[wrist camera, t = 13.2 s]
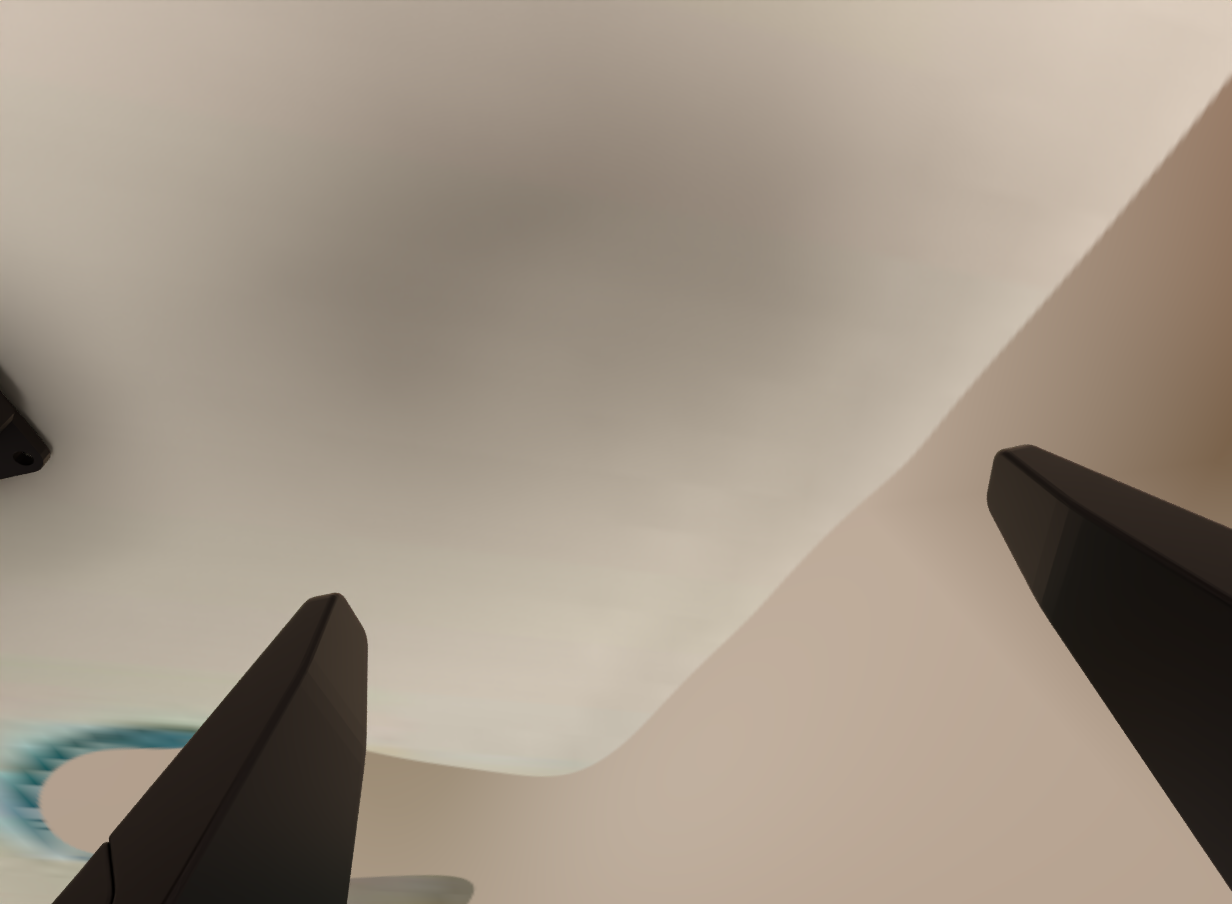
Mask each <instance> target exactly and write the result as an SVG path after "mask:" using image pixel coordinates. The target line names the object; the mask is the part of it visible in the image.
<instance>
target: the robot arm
mask: <svg viewBox="0 0 1232 904" xmlns="http://www.w3.org/2000/svg"><path fill="white" fill-rule="evenodd" d="M22 452H25V453H28V454H29V455H31V456H32V457H30V456H27V455H25V454H24V453H22ZM49 458H50V450H49V449H48V447H47V446H46V444H45V443H44V442H43V441H42V440H41V439H40V437H39V436H38V435H37V434H36V433H35V431H34V430H33V429H32V428H31V427H30V425H29V424H28V423H27V422H26V421H25V419H24V418H23V417H22V416H21V415H20V414H19V412H18V411H17V410H16V409H15V408H14V406H13V405H12V404H11V403H10V402H9V400H8V399H7V398H6V397H5V396H4V395H3V393H2V392H1V391H0V479H4V478H8V477H13V476H18V475H22V474H27V473H31V472H36V471H38V470H40V469H41V468H42V467H43V466H44V465H45V463H46V462H47V461H48V460H49ZM987 504H988V508H989V511H990V513H991V515H992V517H993V519H994V521H995V523H996V524H997V527H998V528H999V530H1000V532H1001V534H1002V536H1003V538H1004V540H1005V542H1006V544H1007V546H1008V548H1009V549H1010V551H1011V553H1012V555H1013V557H1014V559H1015V561H1016V563H1017V565H1018V567H1019V569H1020V571H1021V573H1022V574H1023V576H1024V578H1025V580H1026V582H1027V584H1028V586H1029V588H1030V590H1031V592H1032V593H1033V595H1034V597H1035V599H1036V601H1037V602H1038V604H1039V606H1040V607H1041V609H1042V611H1043V612H1044V614H1045V615H1046V617H1047V618H1048V620H1049V622H1050V623H1051V625H1052V626H1053V628H1054V629H1055V630H1056V632H1057V633H1058V635H1059V636H1060V638H1061V639H1062V641H1063V642H1064V644H1065V645H1066V647H1067V648H1068V650H1069V651H1070V653H1071V654H1072V656H1073V657H1074V659H1075V660H1076V662H1077V663H1078V664H1079V666H1080V667H1081V669H1082V670H1083V672H1084V673H1085V675H1086V676H1087V678H1088V679H1089V681H1090V682H1091V684H1092V685H1093V687H1094V688H1095V690H1096V691H1097V692H1098V694H1099V696H1100V697H1101V699H1102V700H1103V702H1104V703H1105V704H1106V706H1107V707H1108V709H1109V710H1110V712H1111V713H1112V715H1113V716H1114V718H1115V719H1116V721H1117V722H1118V724H1119V725H1120V727H1121V728H1122V730H1123V731H1124V733H1125V734H1126V735H1127V737H1128V738H1129V740H1130V741H1131V743H1132V744H1133V746H1134V747H1135V749H1136V750H1137V752H1138V753H1139V755H1140V756H1141V758H1142V759H1143V761H1144V762H1145V764H1146V765H1147V767H1148V768H1149V770H1150V771H1151V773H1152V774H1153V776H1154V777H1155V778H1156V780H1157V781H1158V783H1159V784H1160V786H1161V787H1162V789H1163V790H1164V792H1165V793H1166V795H1167V796H1168V798H1169V799H1170V801H1171V802H1172V804H1173V805H1174V807H1175V808H1176V810H1177V811H1178V812H1179V814H1180V815H1181V817H1182V818H1183V820H1184V821H1185V823H1186V824H1187V826H1188V827H1189V829H1190V830H1191V832H1192V833H1193V835H1194V836H1195V838H1196V839H1197V841H1198V842H1199V844H1200V845H1201V847H1202V848H1203V850H1204V851H1205V852H1206V854H1207V855H1208V857H1209V858H1210V860H1211V861H1212V863H1213V864H1214V866H1215V867H1216V869H1217V870H1218V872H1219V873H1220V875H1221V876H1222V877H1223V879H1224V881H1225V882H1226V884H1227V885H1228V886H1229V888H1230V889H1231V891H1232V529H1231V528H1229V527H1227V526H1224V525H1221V524H1219V523H1217V522H1215V521H1212V520H1210V519H1208V518H1205V517H1203V516H1200V515H1198V514H1196V513H1193V512H1191V511H1189V510H1186V509H1184V508H1181V507H1179V506H1176V505H1174V504H1172V503H1169V502H1167V501H1165V500H1162V499H1160V498H1158V497H1155V496H1153V495H1150V494H1148V493H1146V492H1143V491H1141V490H1139V489H1136V488H1134V487H1131V486H1129V485H1127V484H1124V483H1122V482H1120V481H1117V480H1115V479H1112V478H1110V477H1107V476H1105V475H1103V474H1101V473H1098V472H1096V471H1093V470H1091V469H1088V468H1086V467H1084V466H1081V465H1079V464H1077V463H1074V462H1072V461H1070V460H1067V459H1065V458H1062V457H1060V456H1057V455H1055V454H1053V453H1051V452H1048V451H1046V450H1043V449H1041V448H1039V447H1036V446H1033V445H1020V446H1015V447H1011V448H1006V449H1002V450H1000V451H998V452H997V454H996V455H995V457H994V460H993V466H992V470H991V475H990V481H989V486H988V491H987ZM367 670H368V643H367V637H366V633H365V630H364V628H363V626H362V625H361V623H360V621H359V620H358V618H357V617H356V615H355V613H354V612H353V610H352V609H351V607H350V605H349V604H348V602H347V600H346V599H345V598H344V596H343V595H341V594H340V593H330V594H326V595H321V596H316V597H312V598H310V599H308V600H307V601H306V602H305V603H304V604H303V605H302V606H301V607H300V609H299V610H298V611H297V612H296V613H295V615H294V616H293V617H292V618H291V619H290V621H289V622H288V623H287V624H286V625H285V627H284V628H283V629H282V630H281V631H280V633H279V634H278V635H277V636H276V637H275V639H274V640H273V641H272V642H271V643H270V645H269V646H268V647H267V648H266V649H265V651H264V652H263V653H262V654H261V655H260V657H259V658H258V659H257V660H256V661H255V663H254V664H253V665H252V666H251V667H250V668H249V670H248V671H247V672H246V673H245V674H244V676H243V677H242V678H241V679H240V680H239V682H238V683H237V684H236V685H235V686H234V688H233V689H232V690H231V691H230V692H229V694H228V695H227V696H226V697H225V698H224V700H223V701H222V702H221V703H220V704H219V706H218V707H217V708H216V709H215V710H214V712H213V713H212V714H211V715H210V716H209V718H208V719H207V720H206V721H205V722H204V724H203V725H202V726H201V727H200V728H199V729H198V731H197V732H196V733H195V734H194V735H193V737H192V738H191V739H190V740H189V741H188V743H187V744H186V745H185V746H184V747H183V749H182V750H181V751H180V752H179V753H178V755H177V756H176V757H175V758H174V760H173V761H172V762H171V763H170V764H169V765H168V767H167V768H166V769H165V770H164V771H163V773H162V774H161V775H160V776H159V777H158V779H157V780H156V781H155V782H154V783H153V785H152V786H151V787H150V788H149V789H148V790H147V792H146V793H145V794H144V795H143V797H142V798H141V799H140V800H139V802H137V804H136V805H135V806H134V807H133V808H132V810H131V811H130V812H129V813H128V814H127V816H126V817H125V818H124V819H123V821H122V822H121V823H120V824H119V825H118V826H117V828H116V829H115V830H114V831H113V832H112V834H111V835H110V837H109V842H105V843H103V844H102V845H101V846H100V848H99V849H98V850H97V851H96V852H95V854H94V855H93V856H92V857H91V858H90V860H89V861H88V862H87V863H86V864H85V866H84V867H83V868H82V869H81V870H80V871H79V873H78V874H77V875H76V876H75V877H74V879H73V880H72V881H71V882H70V883H69V884H68V885H67V887H66V888H65V889H64V890H63V891H62V892H61V894H60V895H59V896H58V897H57V898H56V899H55V901H54V902H53V903H52V904H347V898H348V890H349V883H350V875H351V867H352V859H353V852H354V844H355V836H356V828H357V820H358V813H359V804H360V797H361V789H362V781H363V774H364V765H365V755H366V738H367Z"/></svg>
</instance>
